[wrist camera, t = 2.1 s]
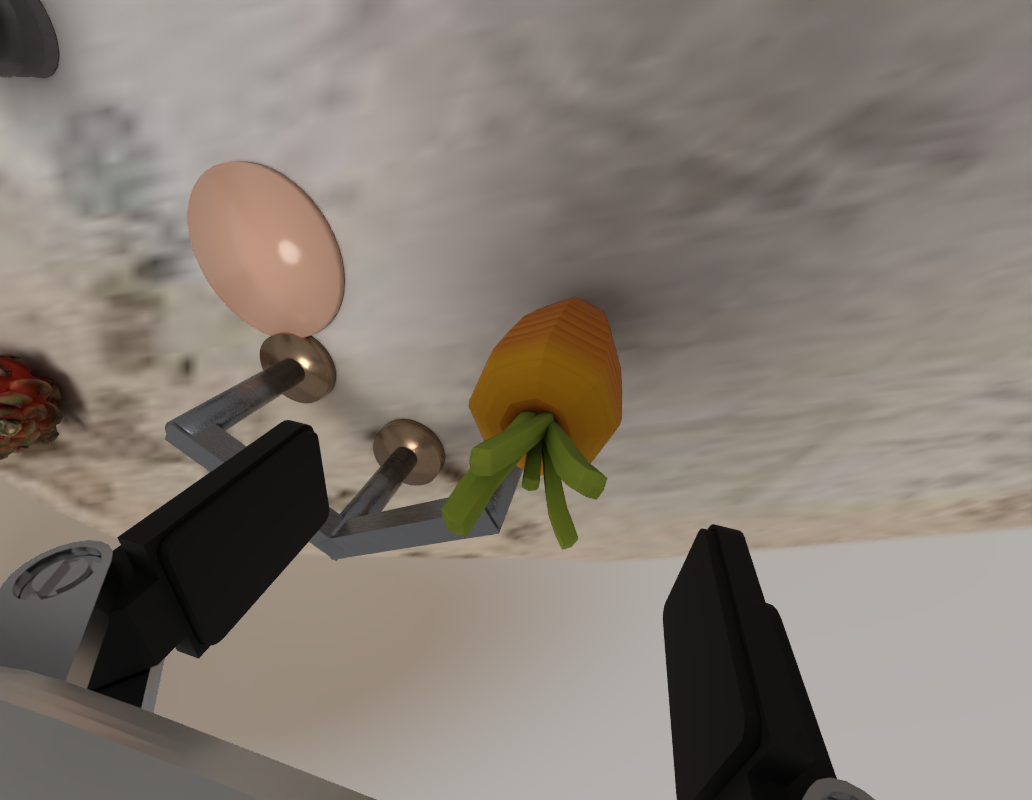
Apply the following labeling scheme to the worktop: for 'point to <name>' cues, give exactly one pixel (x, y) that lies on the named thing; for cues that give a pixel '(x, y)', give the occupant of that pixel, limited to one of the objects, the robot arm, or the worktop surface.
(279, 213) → the terracotta coaster
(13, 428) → the dragon fruit
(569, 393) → the carrot
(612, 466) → the worktop surface
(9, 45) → the beverage cup
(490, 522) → the grey cabinet handle
